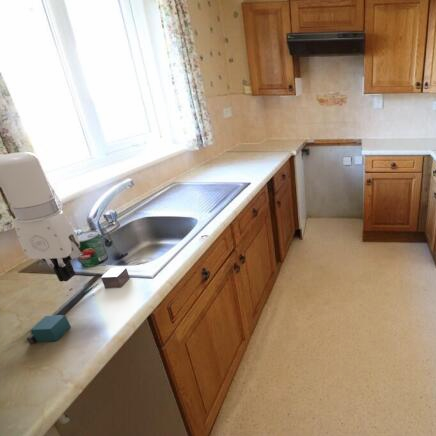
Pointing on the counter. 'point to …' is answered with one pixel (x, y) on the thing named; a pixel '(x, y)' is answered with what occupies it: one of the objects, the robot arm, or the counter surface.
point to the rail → (70, 302)
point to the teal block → (50, 328)
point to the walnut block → (115, 277)
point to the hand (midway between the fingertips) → (67, 277)
